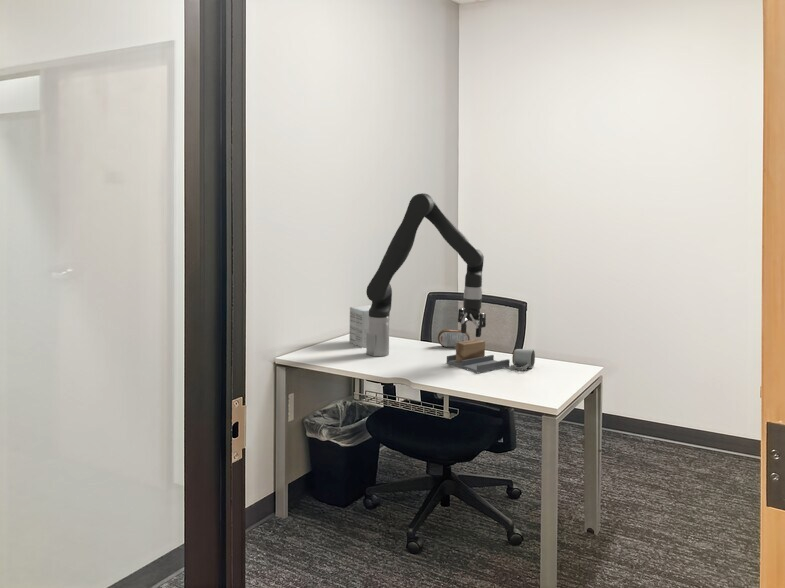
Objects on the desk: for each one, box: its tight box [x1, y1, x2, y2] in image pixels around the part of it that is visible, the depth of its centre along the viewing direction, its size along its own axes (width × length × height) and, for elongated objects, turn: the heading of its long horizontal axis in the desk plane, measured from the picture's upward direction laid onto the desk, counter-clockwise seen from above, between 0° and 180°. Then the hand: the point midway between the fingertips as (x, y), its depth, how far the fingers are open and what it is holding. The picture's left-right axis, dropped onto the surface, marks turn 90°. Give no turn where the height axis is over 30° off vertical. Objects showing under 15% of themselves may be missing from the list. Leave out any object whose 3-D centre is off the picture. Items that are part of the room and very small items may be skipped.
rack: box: [446, 354, 510, 374], centre depth 258 cm, size 18×19×3 cm
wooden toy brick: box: [455, 338, 486, 362], centre depth 261 cm, size 5×12×8 cm, turn 127°
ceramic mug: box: [511, 348, 536, 371], centre depth 255 cm, size 11×8×8 cm
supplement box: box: [348, 304, 372, 348], centre depth 293 cm, size 13×13×18 cm
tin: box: [437, 328, 471, 348], centre depth 290 cm, size 15×3×8 cm, turn 84°
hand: (470, 335), depth 260 cm, fingers open, 8 cm apart
